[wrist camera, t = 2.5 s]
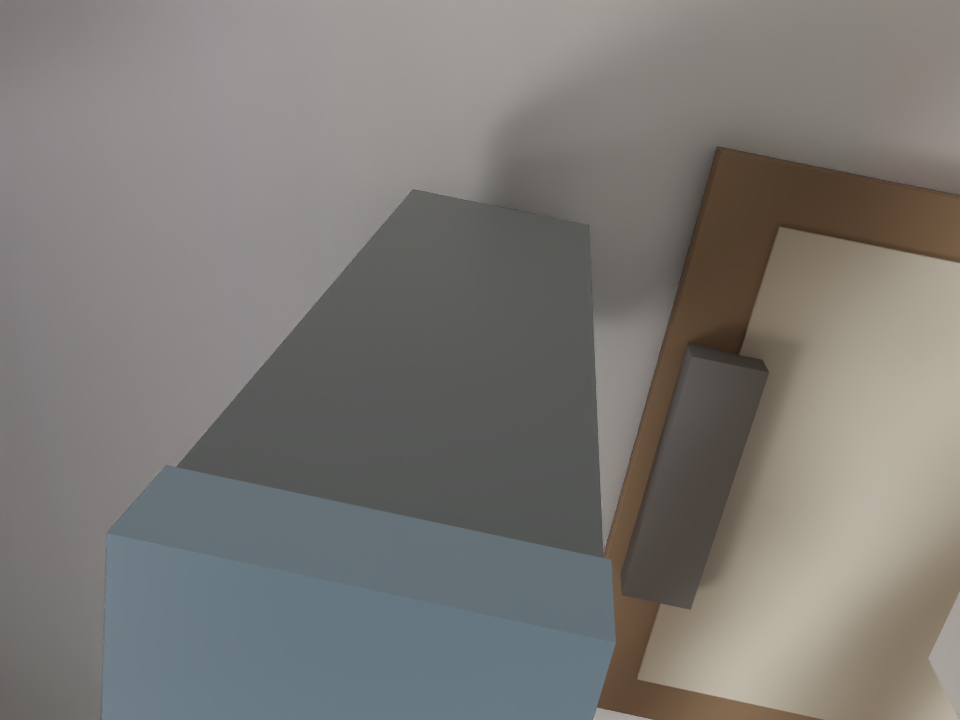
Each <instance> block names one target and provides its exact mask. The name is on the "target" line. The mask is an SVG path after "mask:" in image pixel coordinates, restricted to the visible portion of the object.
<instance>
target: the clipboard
mask: <svg viewBox="0 0 960 720" xmlns="http://www.w3.org/2000/svg"><path fill="white" fill-rule="evenodd" d="M603 558H605V559H610V560H611V564H612V582H613V600H614V617H615V635H616V644H615V648H614V651H613V654H612V658H611V661H610V664H609V668H608V671H607V674H606V678H605V681H604V685H603V688H602V691H601V695H600V698H599V701H598V705H597V707H598V708H603V709H607V710H612V711H616V712H621V713H626V714H630V715H635V716H639V717H644V718H649V719H653V720H959V719H958V717H957V715H956V713H955V711H954V709H953V707H952V705H951V703H950V701H949V699H948V697H947V695H946V693H945V691H944V689H943V687H942V685H941V683H940V681H939V679H938V677H937V675H936V673H935V671H934V669H933V667H932V665H931V663H930V661H929V659H928V658H929V656H930V654H931V652H932V649H933V647H934V645H935V643H936V641H937V639H938V637H939V635H940V632H941V630H942V628H943V626H944V624H945V622H946V620H947V618H948V615H949V613H950V611H951V609H952V607H953V605H954V603H955V601H956V599H957V596H958V594H959V592H960V195H955V194H950V193H945V192H940V191H935V190H930V189H925V188H920V187H915V186H910V185H905V184H900V183H895V182H890V181H885V180H880V179H875V178H870V177H865V176H860V175H855V174H850V173H845V172H840V171H835V170H830V169H825V168H820V167H815V166H810V165H805V164H800V163H795V162H790V161H785V160H780V159H775V158H770V157H766V156H761V155H756V154H751V153H746V152H741V151H736V150H731V149H726V148H721V147H717V150H716V153H715V157H714V161H713V164H712V168H711V171H710V175H709V179H708V182H707V186H706V189H705V193H704V197H703V200H702V204H701V207H700V211H699V215H698V218H697V222H696V225H695V229H694V232H693V236H692V240H691V243H690V247H689V250H688V254H687V258H686V261H685V265H684V268H683V272H682V276H681V279H680V283H679V286H678V290H677V293H676V297H675V301H674V304H673V308H672V311H671V315H670V319H669V322H668V326H667V329H666V333H665V337H664V340H663V344H662V347H661V351H660V355H659V358H658V362H657V365H656V369H655V372H654V376H653V380H652V383H651V387H650V390H649V394H648V398H647V401H646V405H645V408H644V412H643V416H642V419H641V423H640V426H639V430H638V434H637V437H636V441H635V444H634V448H633V451H632V455H631V459H630V462H629V466H628V469H627V473H626V477H625V480H624V484H623V487H622V491H621V495H620V498H619V502H618V505H617V509H616V513H615V516H614V520H613V523H612V527H611V530H610V534H609V538H608V541H607V545H606V548H605V552H604V556H603Z"/></svg>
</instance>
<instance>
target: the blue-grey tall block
mask: <svg viewBox="0 0 960 720" xmlns="http://www.w3.org/2000/svg"><path fill="white" fill-rule="evenodd" d="M615 644H616V635H615V617H614V600H613V582H612V564H611V560H610V559H605V558H603V540H602V517H601V493H600V470H599V447H598V424H597V400H596V377H595V354H594V330H593V307H592V284H591V261H590V237H589V225H585V224H580V223H575V222H570V221H566V220H561V219H556V218H551V217H546V216H541V215H536V214H531V213H526V212H521V211H517V210H512V209H507V208H502V207H497V206H492V205H487V204H482V203H477V202H472V201H467V200H463V199H458V198H453V197H448V196H443V195H438V194H433V193H428V192H423V191H418V190H412V191H411V192H410V194H409V195H408V196H407V197H406V198H405V199H404V201H403V202H402V203H401V204H400V205H399V206H398V208H397V209H396V210H395V211H394V212H393V214H392V215H391V216H390V217H389V218H388V219H387V221H386V222H385V223H384V224H383V225H382V226H381V228H380V229H379V230H378V231H377V232H376V233H375V235H374V236H373V237H372V238H371V239H370V240H369V242H368V243H367V244H366V245H365V246H364V248H363V249H362V250H361V251H360V252H359V253H358V255H357V256H356V257H355V258H354V259H353V260H352V262H351V263H350V264H349V265H348V266H347V267H346V269H345V270H344V271H343V272H342V273H341V275H340V276H339V277H338V278H337V279H336V280H335V282H334V283H333V284H332V285H331V286H330V287H329V289H328V290H327V291H326V292H325V293H324V294H323V296H322V297H321V298H320V299H319V300H318V302H317V303H316V304H315V305H314V306H313V307H312V309H311V310H310V311H309V312H308V313H307V314H306V316H305V317H304V318H303V319H302V320H301V321H300V323H299V324H298V325H297V326H296V327H295V328H294V330H293V331H292V332H291V333H290V334H289V336H288V337H287V338H286V339H285V340H284V341H283V343H282V344H281V345H280V346H279V347H278V348H277V350H276V351H275V352H274V353H273V354H272V355H271V357H270V358H269V359H268V360H267V361H266V363H265V364H264V365H263V366H262V367H261V368H260V370H259V371H258V372H257V373H256V374H255V375H254V377H253V378H252V379H251V380H250V381H249V382H248V384H247V385H246V386H245V387H244V388H243V390H242V391H241V392H240V393H239V394H238V395H237V397H236V398H235V399H234V400H233V401H232V402H231V404H230V405H229V406H228V407H227V408H226V409H225V411H224V412H223V413H222V414H221V415H220V416H219V418H218V419H217V420H216V421H215V422H214V424H213V425H212V426H211V427H210V428H209V429H208V431H207V432H206V433H205V434H204V435H203V436H202V438H201V439H200V440H199V441H198V442H197V443H196V445H195V446H194V447H193V448H192V449H191V451H190V452H189V453H188V454H187V455H186V456H185V458H184V459H183V460H182V461H181V462H180V463H179V465H178V466H177V467H173V466H168V465H166V466H165V467H164V469H163V470H162V471H161V472H160V473H159V474H158V475H157V477H156V478H155V479H154V480H153V481H152V482H151V483H150V485H149V486H148V487H147V488H146V489H145V490H144V491H143V493H142V494H141V495H140V496H139V497H138V498H137V499H136V501H135V502H134V503H133V504H132V505H131V506H130V507H129V509H128V510H127V511H126V512H125V513H124V514H123V515H122V517H121V518H120V519H119V520H118V521H117V522H116V523H115V525H114V526H113V527H112V528H111V529H110V530H109V531H108V532H107V545H106V578H105V611H104V644H103V676H102V709H101V720H593V718H594V715H595V711H596V708H597V705H598V701H599V698H600V695H601V691H602V688H603V685H604V681H605V678H606V674H607V671H608V668H609V664H610V661H611V658H612V654H613V651H614V648H615Z"/></svg>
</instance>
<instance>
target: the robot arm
mask: <svg viewBox="0 0 960 720" xmlns="http://www.w3.org/2000/svg"><path fill="white" fill-rule="evenodd" d="M928 659H929V661H930V663H931V665H932V667H933V669H934V671H935V673H936V675H937V677H938V679H939V681H940V683H941V685H942V687H943V689H944V691H945V693H946V695H947V697H948V699H949V701H950V703H951V705H952V707H953V709H954V711H955V713H956V715H957V717H958V719H959V720H960V592H959V594H958V596H957V599H956V601H955V603H954V605H953V607H952V609H951V611H950V613H949V615H948V618H947V620H946V622H945V624H944V626H943V628H942V630H941V632H940V635H939V637H938V639H937V641H936V643H935V645H934V647H933V649H932V652H931V654H930V656H929V658H928Z"/></svg>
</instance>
